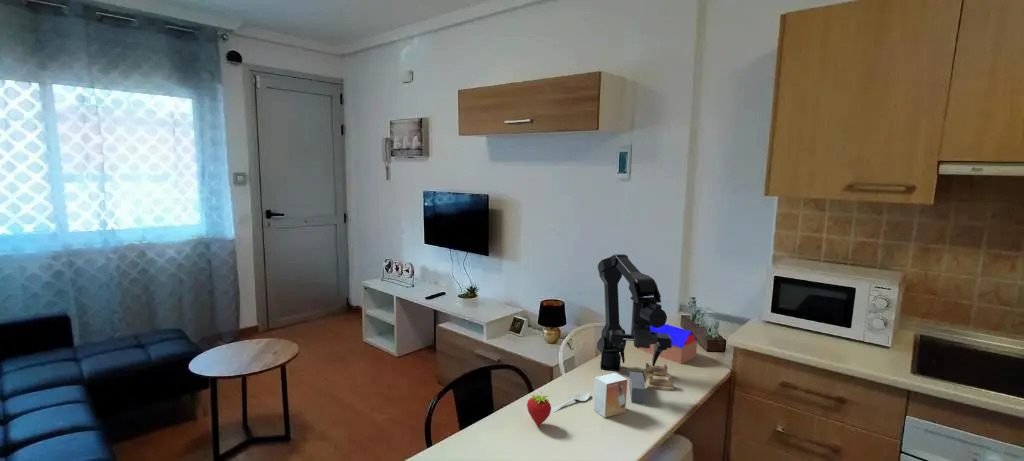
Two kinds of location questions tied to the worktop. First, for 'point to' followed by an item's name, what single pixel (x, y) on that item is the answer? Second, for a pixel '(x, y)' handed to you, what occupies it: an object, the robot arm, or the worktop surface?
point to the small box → (610, 394)
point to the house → (676, 344)
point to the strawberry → (539, 408)
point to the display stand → (657, 377)
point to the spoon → (582, 395)
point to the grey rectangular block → (637, 388)
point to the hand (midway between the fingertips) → (638, 364)
